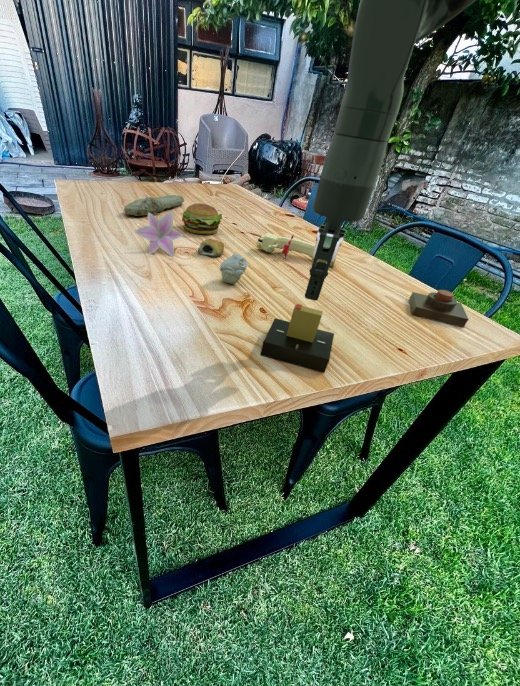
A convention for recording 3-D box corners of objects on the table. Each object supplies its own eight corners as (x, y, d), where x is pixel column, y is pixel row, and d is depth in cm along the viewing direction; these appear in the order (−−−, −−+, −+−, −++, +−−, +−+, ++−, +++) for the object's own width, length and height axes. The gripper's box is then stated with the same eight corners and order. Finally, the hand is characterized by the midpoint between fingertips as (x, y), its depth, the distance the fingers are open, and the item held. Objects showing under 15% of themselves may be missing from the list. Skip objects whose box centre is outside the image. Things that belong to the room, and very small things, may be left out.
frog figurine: (248, 286, 88) (253, 258, 83) (224, 288, 85) (228, 260, 80) (237, 276, 92) (241, 249, 87) (213, 279, 89) (216, 251, 84)
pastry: (209, 245, 108) (210, 232, 106) (228, 250, 107) (230, 237, 104) (196, 253, 101) (197, 240, 99) (217, 259, 100) (219, 245, 97)
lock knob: (314, 337, 65) (323, 309, 61) (312, 342, 64) (322, 314, 60) (288, 331, 66) (295, 303, 62) (286, 335, 64) (294, 307, 61)
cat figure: (331, 263, 112) (258, 241, 114) (343, 235, 106) (265, 213, 108) (330, 274, 104) (252, 250, 107) (342, 244, 98) (259, 220, 101)
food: (175, 232, 115) (175, 205, 110) (187, 222, 125) (188, 197, 120) (215, 239, 114) (217, 212, 108) (224, 228, 124) (226, 204, 119)
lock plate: (329, 346, 69) (334, 332, 67) (324, 373, 62) (329, 358, 60) (271, 331, 71) (275, 317, 69) (260, 355, 64) (263, 340, 62)
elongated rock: (190, 208, 146) (169, 205, 149) (190, 194, 143) (169, 190, 146) (140, 218, 120) (117, 214, 123) (139, 201, 117) (115, 197, 120)
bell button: (448, 298, 86) (452, 291, 85) (451, 304, 84) (455, 297, 83) (433, 295, 87) (437, 288, 86) (435, 300, 84) (439, 293, 83)
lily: (130, 251, 100) (131, 225, 91) (150, 226, 104) (153, 199, 96) (167, 272, 100) (171, 248, 92) (185, 247, 105) (191, 221, 96)
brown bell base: (456, 310, 90) (464, 296, 88) (463, 327, 83) (473, 312, 80) (408, 299, 93) (415, 285, 90) (411, 315, 85) (419, 299, 83)
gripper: (375, 190, 42) (332, 312, 53) (375, 176, 53) (339, 280, 63) (315, 179, 43) (285, 300, 54) (326, 168, 54) (299, 271, 65)
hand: (314, 289), depth 59 cm, fingers open, 8 cm apart
